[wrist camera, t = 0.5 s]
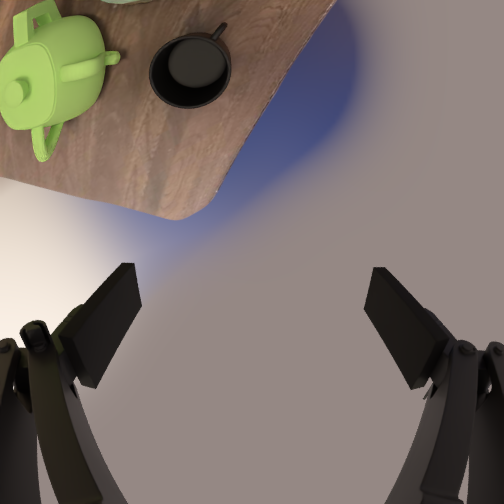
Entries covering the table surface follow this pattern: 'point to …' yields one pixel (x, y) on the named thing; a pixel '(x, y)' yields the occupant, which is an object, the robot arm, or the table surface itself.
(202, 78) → the mug
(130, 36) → the table surface
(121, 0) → the bowl
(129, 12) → the table surface
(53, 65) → the teapot
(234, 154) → the table surface
